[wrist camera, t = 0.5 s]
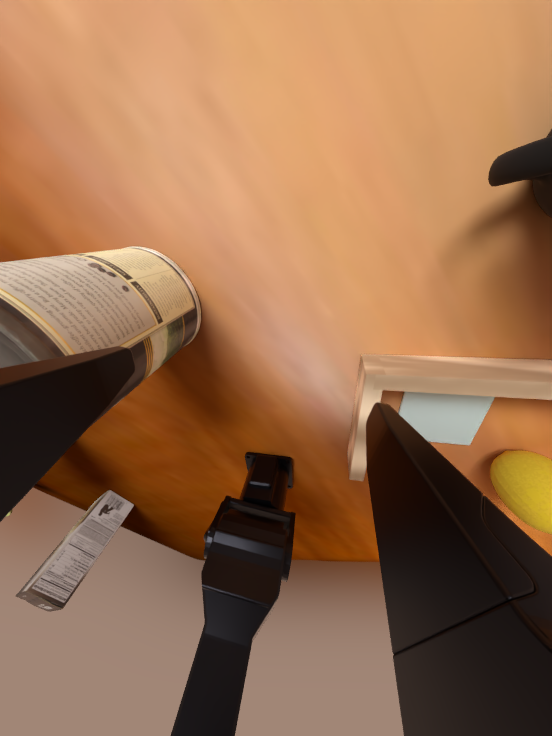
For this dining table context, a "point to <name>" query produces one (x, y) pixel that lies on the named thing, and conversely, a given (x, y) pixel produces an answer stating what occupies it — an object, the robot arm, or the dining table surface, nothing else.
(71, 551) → the coffee box
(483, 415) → the pad
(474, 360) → the beige l-shaped bar
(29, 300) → the coffee can
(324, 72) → the dining table surface
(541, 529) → the lemon
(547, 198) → the mug
